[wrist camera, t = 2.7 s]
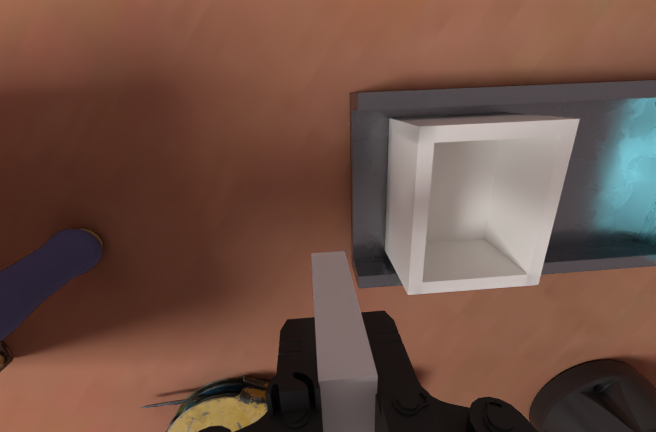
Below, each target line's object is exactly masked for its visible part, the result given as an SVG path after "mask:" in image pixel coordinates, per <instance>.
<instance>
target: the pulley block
mask: <svg viewBox="0 0 656 432" xmlns="http://www.w3.org/2000/svg"><path fill="white" fill-rule="evenodd" d="M269 382H270V381H265V380H261V379H256V378H252V377H247V376H242V379H241V380H240V379H237V378H236V379H235V378H227V379H221V380H217V381H214V382H211V383H208V384H206V385H204V386H203V387H201V388H199V389H197V390H196V391H194V392H193V393H192V394H191V395H189V396H188V397H187V398H186V399H184V400H177V401H171V402H164V403H158V404H153V405H146V406H143V407H141V408H148V407H157V406H163V405H177V404H181V403H182V404H181V406H180V407H179V409H178V411H177V413H176V416H175V417H174V418H173V420H172V421H171V422H170V424H169V428H168V430H167V431H166V432H198V431H200V430H202V429H205V428H207V427H209V426H220V425H221V426H224V427H226V428H229V429H230V430H231V431H232V432H234V431H237V430H239V429H241V428H244V427H246V426H248V425H250V424H252V423H254V422H256V421H257V420H259V419H260V418H261V417H262V416H263V415H265V413H266V412H267V411H268V410H267V404H266V397H265V392H266V389H267V386H268V384H269Z"/></svg>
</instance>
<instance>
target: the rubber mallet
mask: <svg viewBox="0 0 656 432" xmlns="http://www.w3.org/2000/svg"><path fill="white" fill-rule="evenodd" d="M102 249H103V244H102V241H101V239H100V238H99V236H98V235H97V234H95V233H94V232H92V231H91V230H87V229H65V230H63V231H60V232H58V233H56V234H54V235H53V236H52V237H51V238H50V239H49V240H48V241H47V242H46V243H45V244H44V245H43V246H42V247H41V248H39V249H38V250H36V251H34V252H33V253H31V254H29V255H28V256H26V257H24V258H23V259H21V260H19V261H18V262H16V263H14V264H13V265H11V266H9V267H8V268H6V269H4V270H2V271H0V341H2V340H3V339H4V338H5V337H7V336H8V335H9V334H10V333H11V332H13V331H14V330H15V329H16V328H17V327H18V326H19V325H20V324H21V323H22V322H23V321H24V320H25V319H26V318H27V317H28V316H29V315H30V314H31V313H32V312H33V311H34V309H35V308H36V307H38V306H39V305H40V304H41V303H42V302H43V301H44V300H46V299H47V298H48V297H50V296H51V295H52V294H53V293H55V292H56V291H57V290H59V289H60V288H61V287H62V286H64V285H65V284H66V283H67V282H69V281H70V280H71V279H73V278H75V277H76V276H78V275H81V274H83V273H85V272H88V271H89V270H91V269H92V268H93V267H94V266H95V265H96V264H97V263H98V262H99V261H100V259H101V256H102Z"/></svg>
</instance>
